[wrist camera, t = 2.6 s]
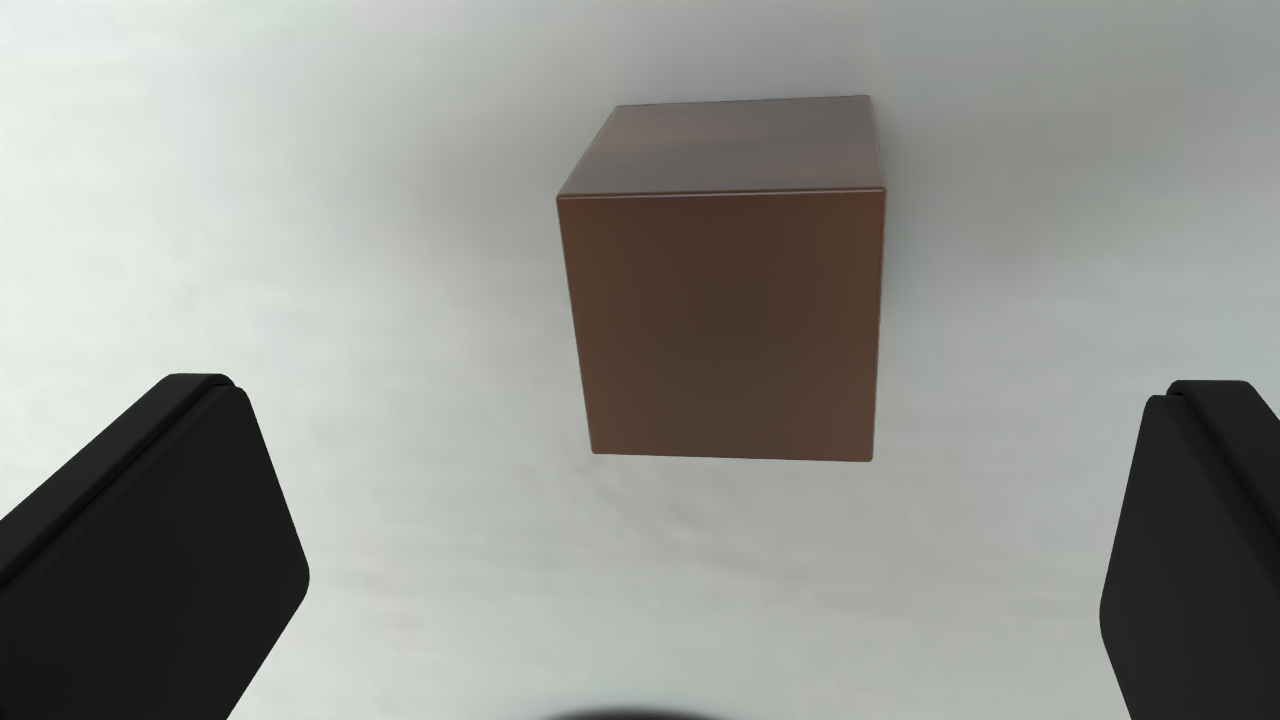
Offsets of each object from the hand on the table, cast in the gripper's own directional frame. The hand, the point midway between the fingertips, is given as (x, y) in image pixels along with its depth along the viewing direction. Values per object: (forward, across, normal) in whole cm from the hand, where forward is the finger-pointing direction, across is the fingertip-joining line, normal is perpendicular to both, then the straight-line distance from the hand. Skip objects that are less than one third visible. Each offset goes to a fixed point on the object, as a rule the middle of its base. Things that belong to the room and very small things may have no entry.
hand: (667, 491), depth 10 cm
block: (+7, 0, 0) cm, 7 cm away
